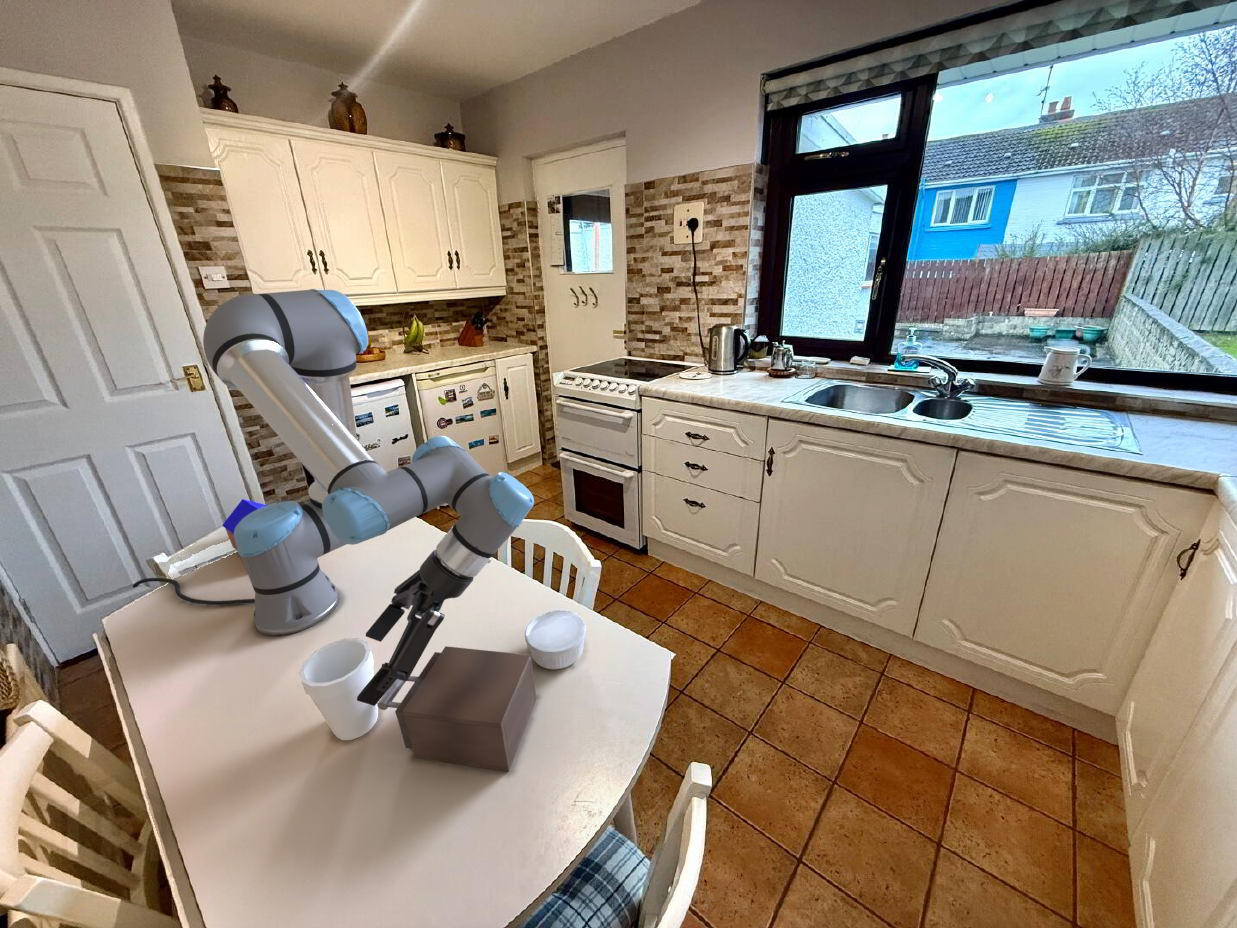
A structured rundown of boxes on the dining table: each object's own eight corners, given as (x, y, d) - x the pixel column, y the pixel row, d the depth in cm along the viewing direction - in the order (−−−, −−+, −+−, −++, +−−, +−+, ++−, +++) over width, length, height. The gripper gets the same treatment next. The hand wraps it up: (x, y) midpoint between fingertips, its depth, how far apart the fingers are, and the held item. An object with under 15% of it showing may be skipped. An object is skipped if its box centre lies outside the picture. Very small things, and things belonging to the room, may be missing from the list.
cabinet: (415, 758, 72) (402, 711, 68) (454, 688, 83) (445, 645, 79) (508, 771, 69) (500, 724, 66) (536, 698, 81) (530, 654, 77)
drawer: (373, 744, 73) (361, 706, 70) (414, 683, 83) (405, 648, 80) (491, 760, 70) (484, 722, 67) (518, 695, 80) (513, 660, 77)
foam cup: (361, 754, 72) (340, 691, 67) (309, 744, 74) (283, 681, 69) (400, 701, 81) (383, 641, 76) (352, 693, 83) (332, 634, 78)
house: (280, 527, 136) (268, 490, 131) (314, 549, 125) (301, 509, 121) (230, 547, 127) (215, 508, 122) (262, 572, 116) (246, 530, 112)
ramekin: (545, 625, 97) (542, 603, 95) (596, 637, 93) (595, 615, 91) (516, 666, 87) (512, 643, 85) (572, 681, 84) (570, 658, 82)
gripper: (485, 624, 65) (388, 741, 66) (468, 534, 86) (395, 623, 87) (437, 602, 61) (334, 727, 62) (431, 514, 83) (355, 608, 84)
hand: (369, 667), depth 75 cm, fingers open, 13 cm apart
